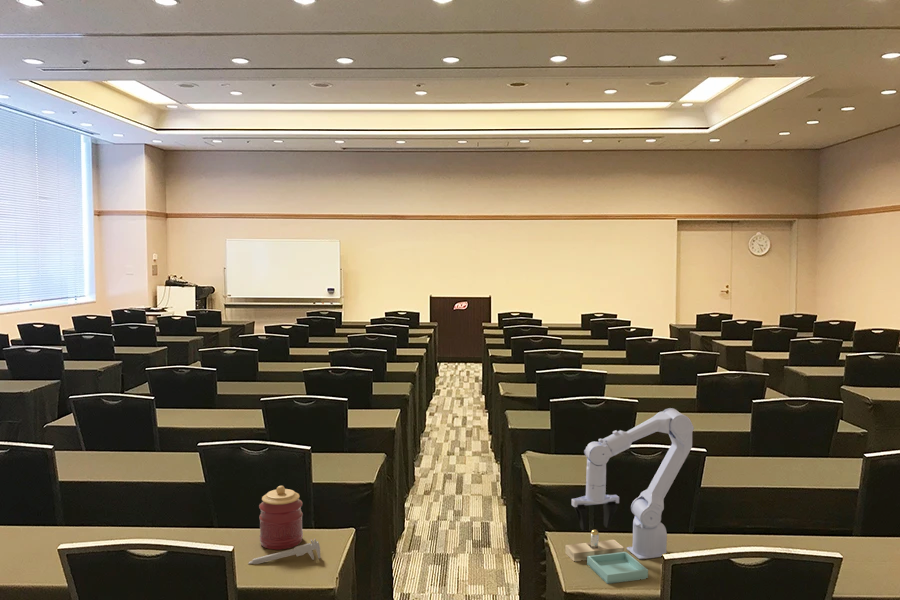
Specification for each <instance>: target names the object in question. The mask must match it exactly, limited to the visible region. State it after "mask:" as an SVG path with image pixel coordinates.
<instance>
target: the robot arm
mask: <svg viewBox="0 0 900 600" xmlns="http://www.w3.org/2000/svg"><path fill="white" fill-rule="evenodd" d="M694 429H695V427H694V425H693V423H692V421H691V419H690V418H689V417H688V416H687V415H685V414H683V413H681V412H679V411H678V410H677V409H676V408H673V407H672V408H671V407H669V408H665V409H664V410H662V411H661V410H660V411H659V412H658V411H657V413H656V414H655V415H653V416H652V417H650V418H648V419H647V420H644V421H643V422H642V423H639V424H638V425H636V426H634V427H633V428H630V429H628V430H627V431H625V430H621V429H619V430H617V429H616V430H613V431H612V434H610V435H608V436H606V437H604V438H598V441H591V442H589V443H588V444H587V446H585V449H584V450H583V453H584V455H585V457H586V473H585V474H586V475H585V495H583V496H582V495H581V496H579V497H576V498H571V506H572V507H573V508H574V511H575V512H576V515H577V519H578V522H579V527H580V529H581V530H582V531H583V532H584V531H586V529H587V515H588V511H589V510H588V509H587V508H586V506H593V505H602V508H603V527H605V528H606V529H609V528H610V526H611V523H612V520H613V516H614V515H615V513H616V512H617V510H618V504H620V496H618V495H617V494H606V493H607V491H606V490H607V489H606V488H607V486H606V485H607V463H608V462H609V460H610V458H612V457H614V456H617V455H618V454H620V453H622V452H624V451H626V450H629V449H630V448H631V446H632V443H633V442H636V441H638V440H640V439H643V438H645V437H647V436H649V435H650V436H651V435H652V434H654V433H656V432H659V433H663V434H668V437H669V438H670V441H671V444H670V446H669V448H668V450H667V452H666V454H665V456H664V458H663V459H662V461H661V462H660V463H661V464H660V465H659V467H658V469H657V471H656V472H655V474H654V476H653V478H652V479H651V481H650V483H649V485H648V487H647V488H646V489H645V490H643V491H641V492H640V494H639V496H638V497H636V498H635V499H634V500H632V503H631V505H630V511H631V513H632V514H633V516H634V518H633V521H632V546H627V547H626V550H627V551H629V552H630V553H631V554H633V555H634V556H635V557H636V558H637V559H639V560H645V559H646V560H648V559H654V558H662V557H661V556H662V554H664V553H667V545H668V544H667V543H668V542H667V540H668V536H667V535H668V534H667V528H666V526H665V525H664V524H663V523H662V522H661V521H662V515H663V514H662V513H663V511H664V509H665V503H664V501H665V497H666V495H667V493H668V492H669V490H670V488H671V486H672V485H673V483H674V480H675V479H676V477H677V475H678V473H679V472H680V470H681V468H682V467H683V464H684V463H685V462H686V460H687V458H688V456H689V454H690V451H691V450H692V447H693V431H694Z"/></svg>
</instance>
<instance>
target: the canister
mask: <svg viewBox="0 0 900 600" xmlns="http://www.w3.org/2000/svg"><path fill="white" fill-rule="evenodd" d="M302 507H303V501H302V500H301V499H300V493H298V492H296V491H295V490H293V489H288V488H285V486H284V485H279V486H277V487H276V489H273V490H269V491H268V492H267V493H265V494H264V495H263V496H261V503H259V505H258V508H259V510H260V514H259V542H260V545H261V546H262V547H263V548H265V549H268V550H289V549H290V548H292V549H293V548H295V547H297V546H299V545H300V544H301V543H302V542H303V536H304V535H303V533H304V532H303V516H304V514H303V512H302V509H301V508H302Z"/></svg>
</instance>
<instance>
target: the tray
mask: <svg viewBox="0 0 900 600" xmlns="http://www.w3.org/2000/svg"><path fill="white" fill-rule="evenodd" d="M586 565H587V566H588V565H589V566H590V567H589V566H588V567H589V568H590V569H591V570H592V571H593V572H594V573H595V574H596V575H598V577H599V578H601V580H602V581H604V582H605V583H606V585H608V584H609V585H610V584H617V583H625V582H631V581H632V582H633V581H640V579H641V580H646V578H648V579H649V569H648V568H647V567H645V565H643V564H641V563H640V562H639V561H638V560H637V559H636V558H634V557H633V556H632V555H631V554H630V553H628V551H624V552H619V553H610V554H602V555H593V556H587V560H586Z"/></svg>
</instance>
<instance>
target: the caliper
mask: <svg viewBox="0 0 900 600" xmlns="http://www.w3.org/2000/svg"><path fill="white" fill-rule="evenodd" d="M313 550H315V551H316V554H317V558H318V559H319V560H320V559H321V546H320V543H319V541H317V539H316V538H314V539H310V542H308V543H305V544H301V545H300V544H299V545H297V546H294V547H293V548H292V549H290V548H289V549H285V550H283V551H279V552H276V553H275V552H274V553H271V554H267V555H264V556H258V557H255V558H252V560H250V561H248V565H252V564H253V565H259V564H262V563H267V562H270V561H275V560H278V559H282V558H286V557H291V556H295V555H296V557H297V558H298V557H299V556H304V555H305V554H308V555H309V557H310V558H311V560H315V557H314V556H315V555H314V551H313Z"/></svg>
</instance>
